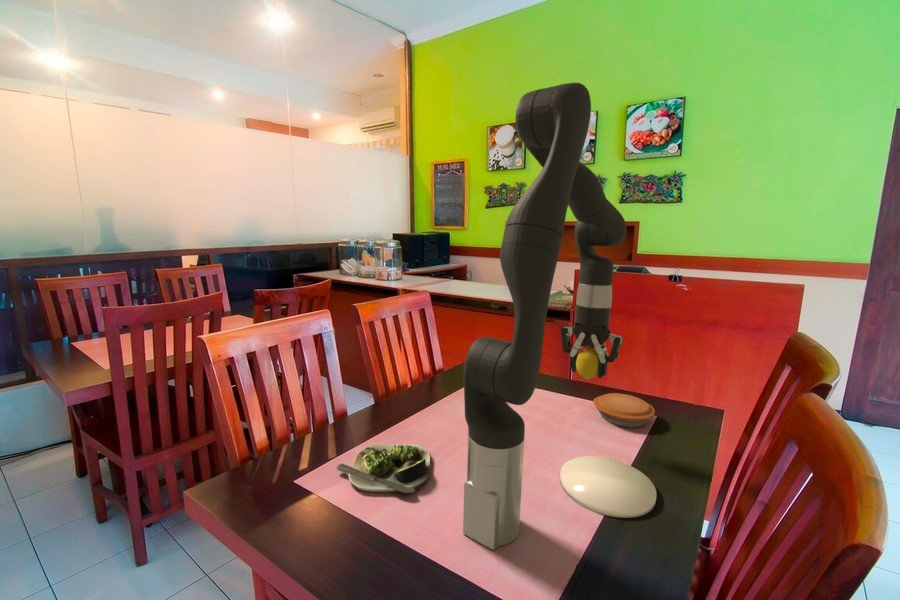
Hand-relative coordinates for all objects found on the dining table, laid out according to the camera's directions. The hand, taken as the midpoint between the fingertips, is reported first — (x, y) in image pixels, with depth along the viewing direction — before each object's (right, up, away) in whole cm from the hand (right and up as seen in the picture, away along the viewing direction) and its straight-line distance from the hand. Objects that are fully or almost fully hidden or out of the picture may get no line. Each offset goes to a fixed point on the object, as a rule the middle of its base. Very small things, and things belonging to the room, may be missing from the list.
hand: (587, 373), depth 97 cm
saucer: (-1, -20, -14) cm, 24 cm away
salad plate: (-44, -19, -10) cm, 49 cm away
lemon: (0, -2, 0) cm, 2 cm away
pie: (+15, -15, +17) cm, 27 cm away
